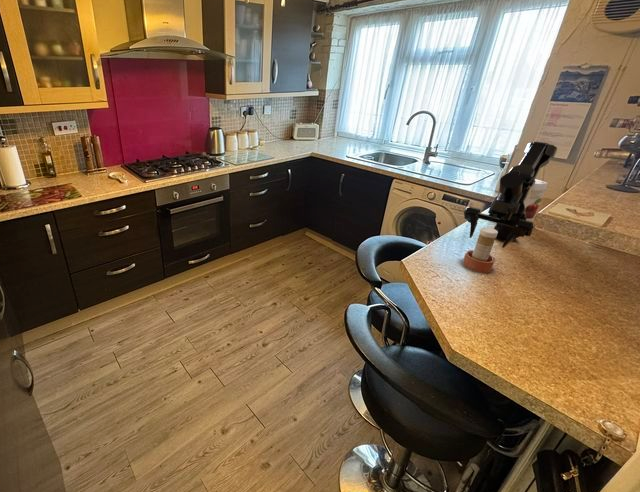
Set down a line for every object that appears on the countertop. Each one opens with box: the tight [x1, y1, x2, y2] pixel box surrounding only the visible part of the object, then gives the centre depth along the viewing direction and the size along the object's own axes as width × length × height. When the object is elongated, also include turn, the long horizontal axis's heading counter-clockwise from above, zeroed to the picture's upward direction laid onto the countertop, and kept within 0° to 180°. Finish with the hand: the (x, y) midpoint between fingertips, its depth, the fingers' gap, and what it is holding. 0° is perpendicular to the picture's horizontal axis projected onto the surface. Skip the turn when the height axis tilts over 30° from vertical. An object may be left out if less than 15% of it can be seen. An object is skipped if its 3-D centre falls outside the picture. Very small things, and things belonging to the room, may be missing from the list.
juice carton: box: [524, 178, 549, 222], centre depth 138 cm, size 8×9×19 cm
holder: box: [462, 249, 496, 274], centre depth 109 cm, size 8×8×4 cm
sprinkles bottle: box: [472, 226, 498, 262], centre depth 107 cm, size 5×5×13 cm
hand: (486, 241), depth 107 cm, fingers open, 9 cm apart
